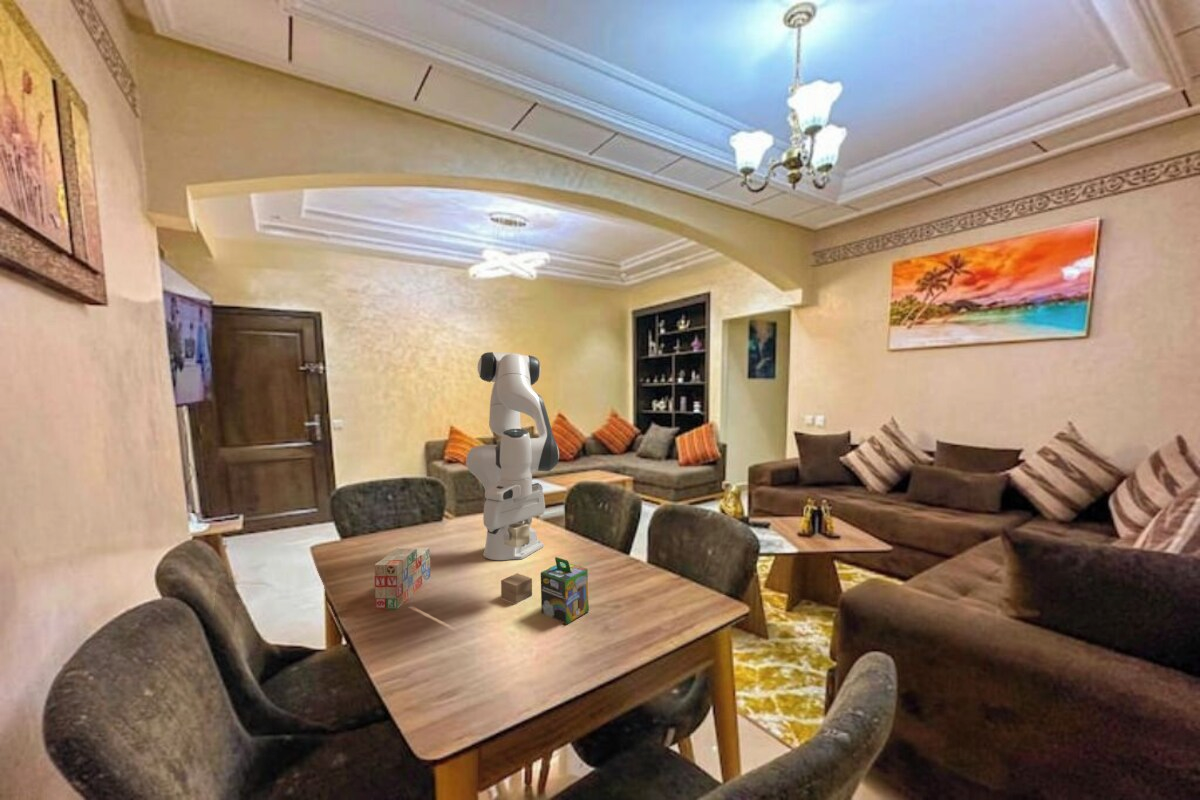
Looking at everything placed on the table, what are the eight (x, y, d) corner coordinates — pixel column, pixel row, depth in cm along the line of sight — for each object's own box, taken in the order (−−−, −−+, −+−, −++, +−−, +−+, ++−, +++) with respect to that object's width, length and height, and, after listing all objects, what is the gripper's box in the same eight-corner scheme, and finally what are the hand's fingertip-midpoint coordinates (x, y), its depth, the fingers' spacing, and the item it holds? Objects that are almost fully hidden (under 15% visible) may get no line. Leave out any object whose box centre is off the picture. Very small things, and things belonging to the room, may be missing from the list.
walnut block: (517, 590, 131) (517, 573, 131) (532, 595, 128) (531, 578, 128) (501, 598, 127) (501, 580, 126) (516, 604, 123) (516, 585, 123)
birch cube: (517, 539, 130) (516, 522, 130) (529, 542, 127) (529, 525, 127) (503, 544, 126) (503, 526, 126) (516, 547, 123) (516, 529, 123)
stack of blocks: (411, 576, 143) (410, 537, 143) (430, 576, 143) (430, 537, 143) (374, 609, 122) (374, 563, 122) (397, 609, 122) (397, 564, 121)
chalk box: (589, 611, 120) (589, 556, 120) (565, 626, 113) (565, 567, 112) (563, 601, 126) (563, 548, 125) (539, 614, 119) (539, 558, 118)
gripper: (534, 480, 137) (534, 526, 137) (479, 492, 120) (479, 544, 120) (549, 483, 133) (550, 530, 133) (495, 496, 116) (495, 549, 117)
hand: (516, 537), depth 127 cm, fingers closed on birch cube, 5 cm apart
